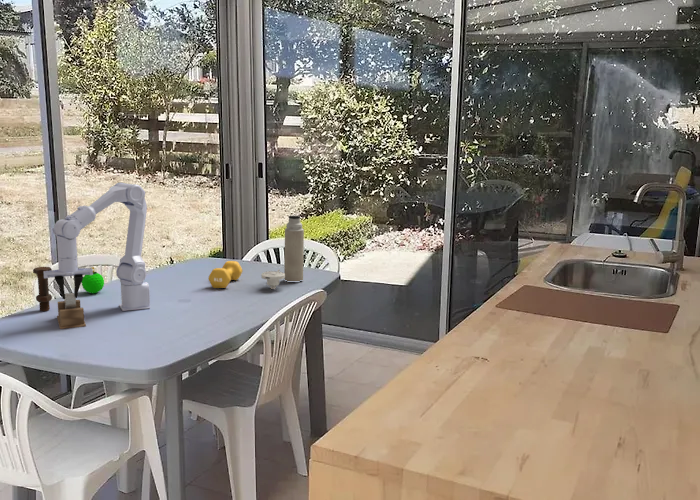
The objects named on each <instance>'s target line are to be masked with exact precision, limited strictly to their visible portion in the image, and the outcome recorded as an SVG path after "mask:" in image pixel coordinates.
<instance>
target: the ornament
mask: <svg viewBox="0 0 700 500" xmlns="http://www.w3.org/2000/svg"><path fill="white" fill-rule="evenodd" d="M90 268H92V269H93V275H83V280H82V282H81V286H82V289H83V290H84V291H85V292H87V293H89V294H97V293H99V292H101V291H102V290H103V289H104V287H105V286H104V285H105V279H104V277H103V275H102V274H100V273H99V272H97V271H95V267H93V266H92V267H91V266H90Z"/></svg>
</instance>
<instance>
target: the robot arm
mask: <svg viewBox="0 0 700 500" xmlns="http://www.w3.org/2000/svg"><path fill="white" fill-rule="evenodd" d="M145 197H146V191H145V190H144V188H143V187H142V186H141V185H139V184H136V183H134V184H133V183H125V182H117V183H115V184H114V185H113V186H111V187H109V189H108V190H107V191H105V193H104V194H102V195H101V196H100V197H98V198H97V199H96V200H95V201H93V202H92V203H91V204H90V205H89V206H88V205H79V206H78V207H76V208H77V210H74V212H72V213H71V214H67V215H66V216H65V219H64V218H63V219H61V218H60V219H59V220H57V221H56V222H55V223H54V226H53V228H52V229H51V230H52V233H53V234H54V235H55V236H56V242H57V243H56V244H57V245H56V247H57V261H58V269H53V270H52V271H44V278H48V279H49V278H54V280H55V283H56V284H57V287H58V289H59V290H60V292H61V299H62V300H64V299H65V294H66V293H65V281H64V277H73V282H74V283H73V285H74V292H73V293H74V295H75V297H76V299H78V294H79V290H80V287H81V285H82V283H81V282H82V280H83V277H84V276H85V275H93V270H94V269H92V268H91V267H88V268H87V267H80V268H79V266H78V265H79V263H78V246H77V245H78V243H77V237H79V235H80V232H81V230H83V229H84V228H85V227H87V226H88V225H90V224H91V223H92V222H94V221H95V220H96V218H97V217H96V216H97V214H99V213H100V212H102V211H104V210H105V209H107V208H108V207H110V206H111V205H113V204H114V203H122V204H123V205H124V206H125V207H126V208H127V209H128V210H129V218H128V225H127V227H128V228H127V234H126V235H127V236H126V243H125V251H124V255H123V256H122V257H121V258H120V260H119V264H118V266H117V268H116V271H115V273H116V277H117V278H118V279H119V283H120V294H121V295H120V296H121V298H120V299H121V303H119V304H118V307H119V308H120V309H121V311H122V312H125V311H135V310H145V309H151V300H150V299H151V298H150V297H151V295H150V285H149V284H150V283H149V282H147V281H145V280H146V278H147V270H146V263H145V261H144V259H143V257H142V252H143V243H144V238H145V237H144V236H145V229H146V219H147V212H148V211H147V209H148V204H147V201H146V198H145Z"/></svg>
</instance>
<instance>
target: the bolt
mask: <svg viewBox="0 0 700 500" xmlns="http://www.w3.org/2000/svg"><path fill="white" fill-rule="evenodd" d="M44 271H52V267H50V266H38V267H34V268H33V269H32V274H35V275H36V277H37V287H38V295H36V296H35V300H36V302H37V303H38V304H39V311H41V312H49V310H50V309H51V308H50V302H51V301H52V300H53V296H52V295H51V294H50V290H49V278H44Z"/></svg>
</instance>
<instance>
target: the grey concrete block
mask: <svg viewBox="0 0 700 500" xmlns="http://www.w3.org/2000/svg"><path fill="white" fill-rule="evenodd" d="M76 300H77V298H76V297H75V295H74V292H69V293H65V299H63V301H64V303H65V309H73V308H76Z"/></svg>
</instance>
